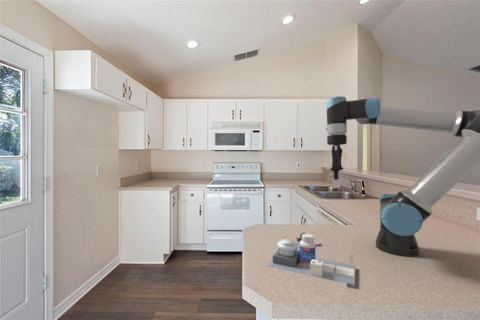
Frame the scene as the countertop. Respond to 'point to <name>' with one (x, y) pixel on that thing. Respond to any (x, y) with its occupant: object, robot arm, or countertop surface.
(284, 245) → the pop dome
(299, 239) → the stuffed animal
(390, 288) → the countertop surface
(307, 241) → the pill bottle
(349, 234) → the countertop surface
